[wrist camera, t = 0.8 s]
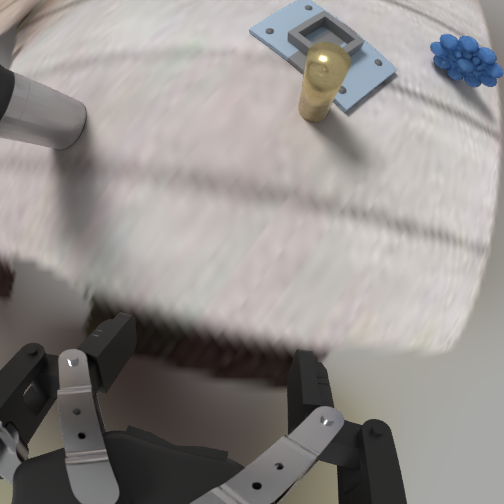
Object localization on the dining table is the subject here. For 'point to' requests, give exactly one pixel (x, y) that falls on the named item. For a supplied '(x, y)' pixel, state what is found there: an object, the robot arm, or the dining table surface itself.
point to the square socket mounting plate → (324, 30)
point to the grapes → (466, 60)
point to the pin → (322, 79)
